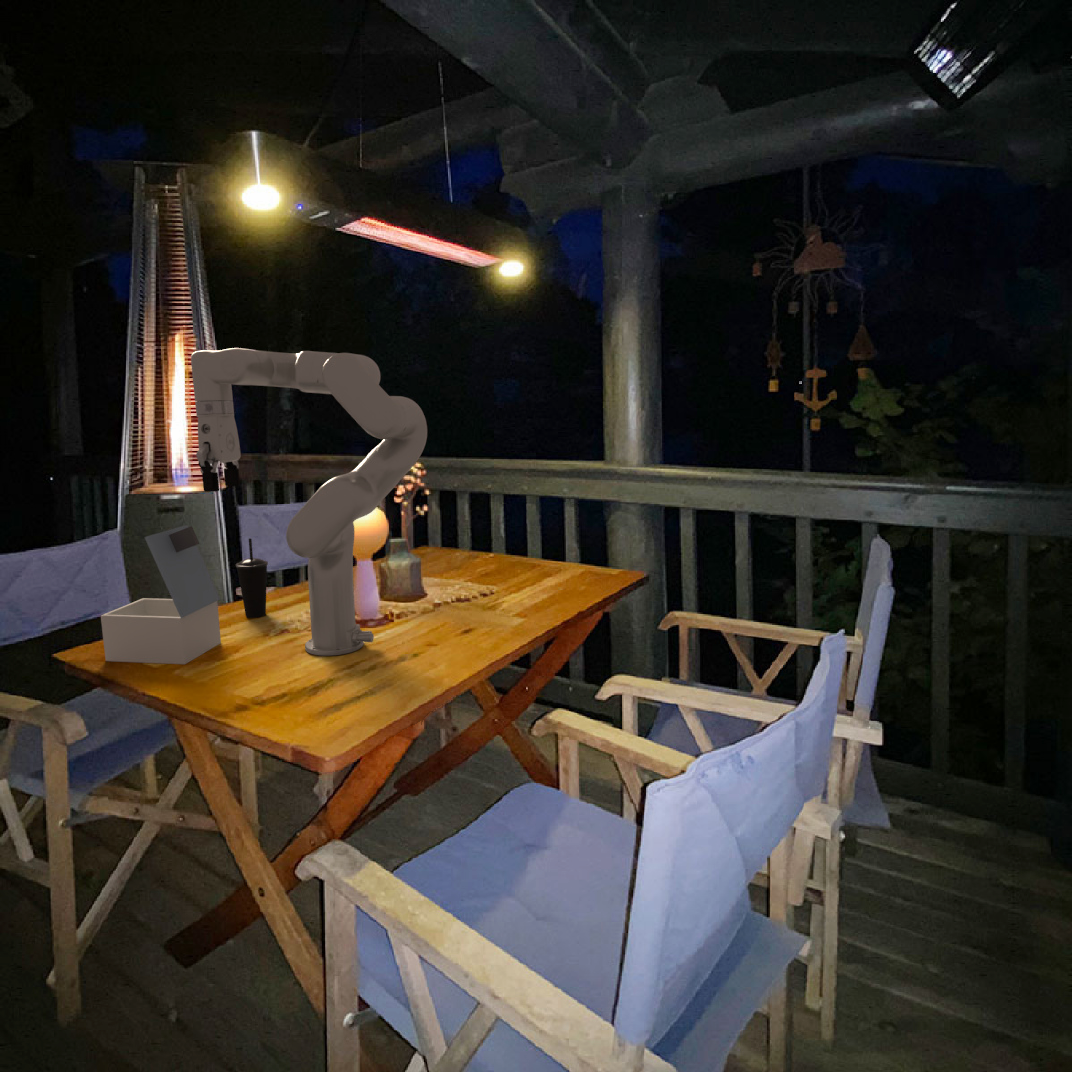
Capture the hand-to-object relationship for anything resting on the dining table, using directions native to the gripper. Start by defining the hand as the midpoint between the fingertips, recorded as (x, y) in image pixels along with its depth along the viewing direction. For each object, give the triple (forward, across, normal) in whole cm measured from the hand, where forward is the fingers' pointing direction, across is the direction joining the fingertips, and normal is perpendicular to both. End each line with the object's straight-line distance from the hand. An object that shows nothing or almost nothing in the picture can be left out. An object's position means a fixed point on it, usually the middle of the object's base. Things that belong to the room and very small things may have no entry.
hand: (222, 488), depth 165 cm
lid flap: (+17, -8, +7) cm, 19 cm away
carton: (+35, -7, +13) cm, 38 cm away
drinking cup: (+35, +21, +5) cm, 42 cm away
